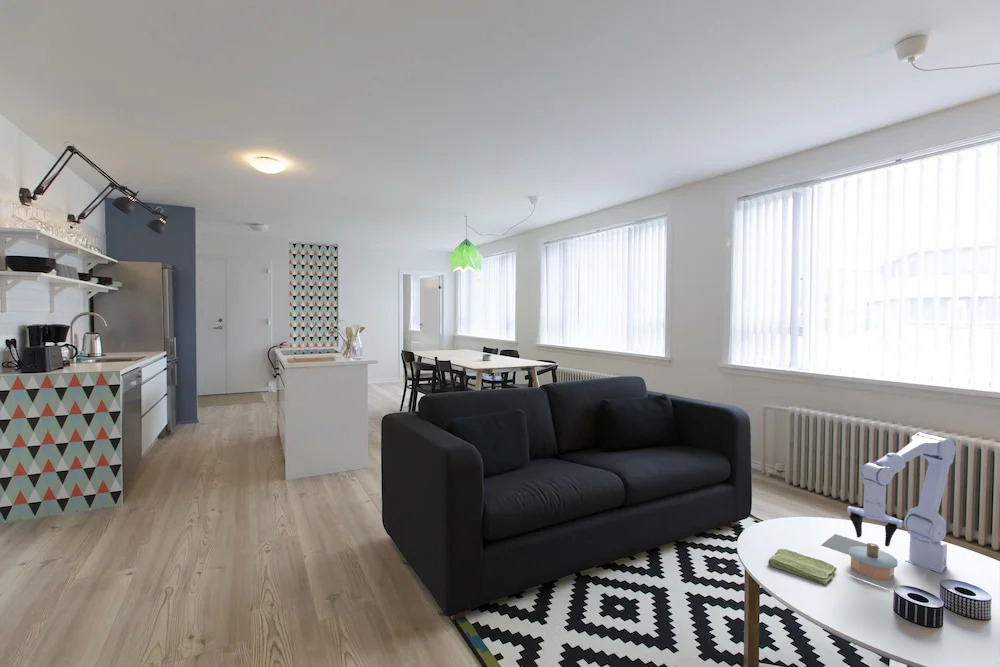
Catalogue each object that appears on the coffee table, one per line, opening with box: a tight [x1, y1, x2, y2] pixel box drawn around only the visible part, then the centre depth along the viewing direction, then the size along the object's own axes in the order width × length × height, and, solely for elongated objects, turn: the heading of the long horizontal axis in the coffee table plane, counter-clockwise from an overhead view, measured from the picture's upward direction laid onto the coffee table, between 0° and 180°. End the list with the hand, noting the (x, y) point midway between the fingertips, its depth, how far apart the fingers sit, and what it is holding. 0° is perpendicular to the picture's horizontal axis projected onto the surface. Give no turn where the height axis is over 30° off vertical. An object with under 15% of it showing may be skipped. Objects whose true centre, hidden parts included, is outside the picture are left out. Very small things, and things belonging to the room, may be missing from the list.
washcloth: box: [767, 548, 837, 585], centre depth 164 cm, size 13×18×3 cm
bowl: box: [850, 557, 895, 581], centre depth 162 cm, size 11×11×4 cm
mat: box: [821, 533, 881, 556], centre depth 178 cm, size 14×14×1 cm
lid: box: [847, 542, 899, 569], centre depth 162 cm, size 13×13×4 cm
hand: (873, 540), depth 162 cm, fingers open, 7 cm apart
